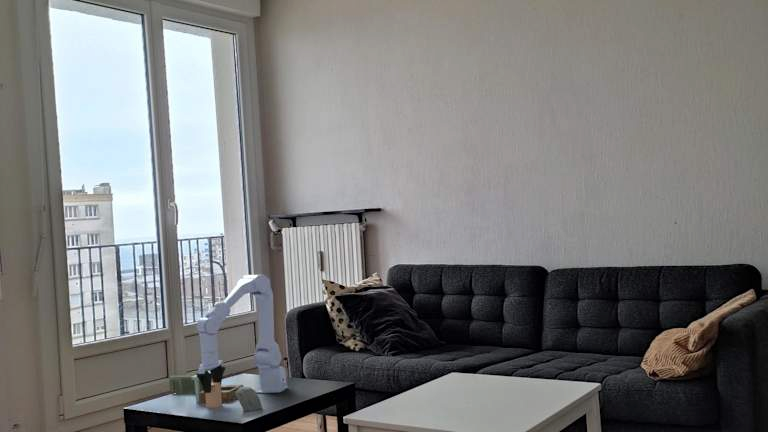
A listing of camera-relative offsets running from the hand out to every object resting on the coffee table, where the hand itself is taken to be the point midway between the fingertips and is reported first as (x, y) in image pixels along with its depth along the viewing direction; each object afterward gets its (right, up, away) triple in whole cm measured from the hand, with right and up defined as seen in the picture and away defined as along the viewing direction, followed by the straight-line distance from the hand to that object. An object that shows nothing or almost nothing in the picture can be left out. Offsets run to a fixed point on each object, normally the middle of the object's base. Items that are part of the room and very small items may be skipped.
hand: (212, 390), depth 279 cm
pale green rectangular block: (-5, -6, +14) cm, 16 cm away
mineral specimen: (+14, -5, -10) cm, 18 cm away
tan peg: (+1, -6, 0) cm, 6 cm away
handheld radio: (-11, -7, +27) cm, 30 cm away
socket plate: (+1, -6, +12) cm, 14 cm away
